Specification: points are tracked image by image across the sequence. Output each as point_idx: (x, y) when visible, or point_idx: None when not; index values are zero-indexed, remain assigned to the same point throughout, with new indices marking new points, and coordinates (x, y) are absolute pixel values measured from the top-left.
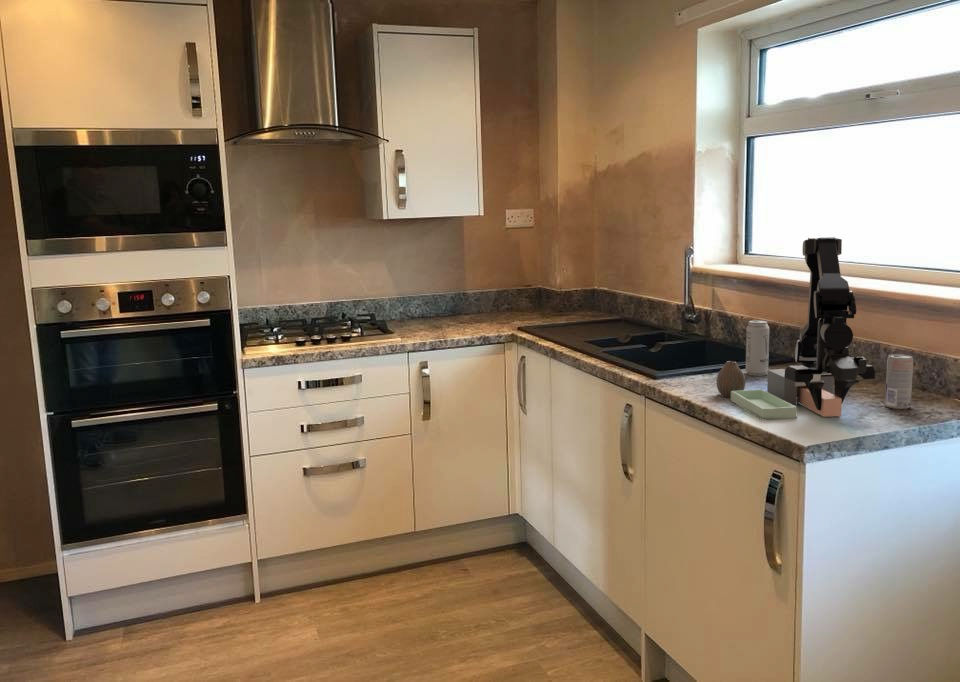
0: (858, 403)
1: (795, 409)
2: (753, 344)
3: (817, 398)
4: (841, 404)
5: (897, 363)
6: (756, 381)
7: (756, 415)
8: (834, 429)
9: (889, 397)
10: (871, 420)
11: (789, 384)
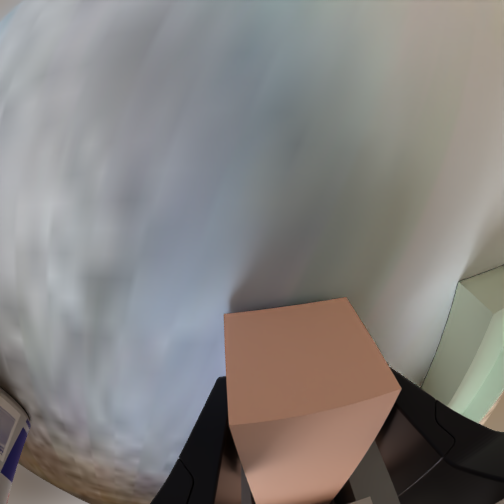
0: (105, 450)
1: (490, 304)
2: None
3: (426, 394)
4: (226, 378)
5: None
6: None
7: None
8: (390, 14)
9: (2, 427)
10: (50, 226)
11: (390, 495)
